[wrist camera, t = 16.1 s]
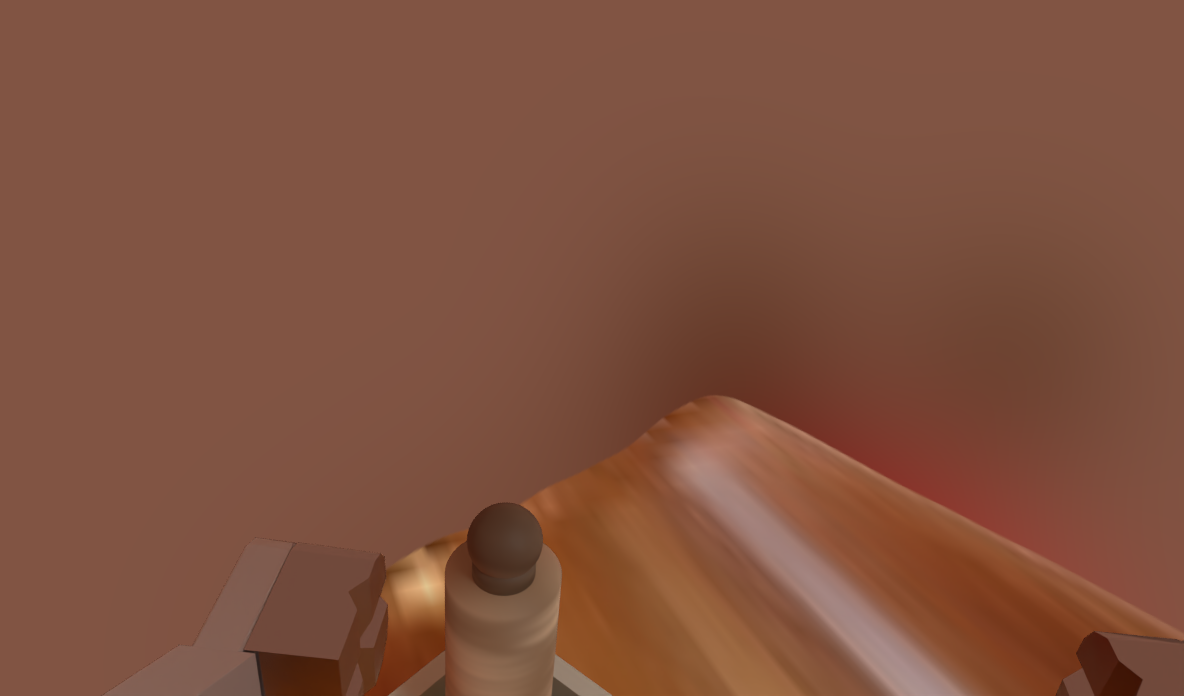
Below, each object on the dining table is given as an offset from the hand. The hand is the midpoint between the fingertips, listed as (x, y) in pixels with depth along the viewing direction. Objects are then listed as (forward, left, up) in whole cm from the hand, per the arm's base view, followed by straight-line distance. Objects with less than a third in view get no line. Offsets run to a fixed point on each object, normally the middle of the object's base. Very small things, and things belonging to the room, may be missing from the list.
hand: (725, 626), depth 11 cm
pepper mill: (-12, -14, -31) cm, 37 cm away
